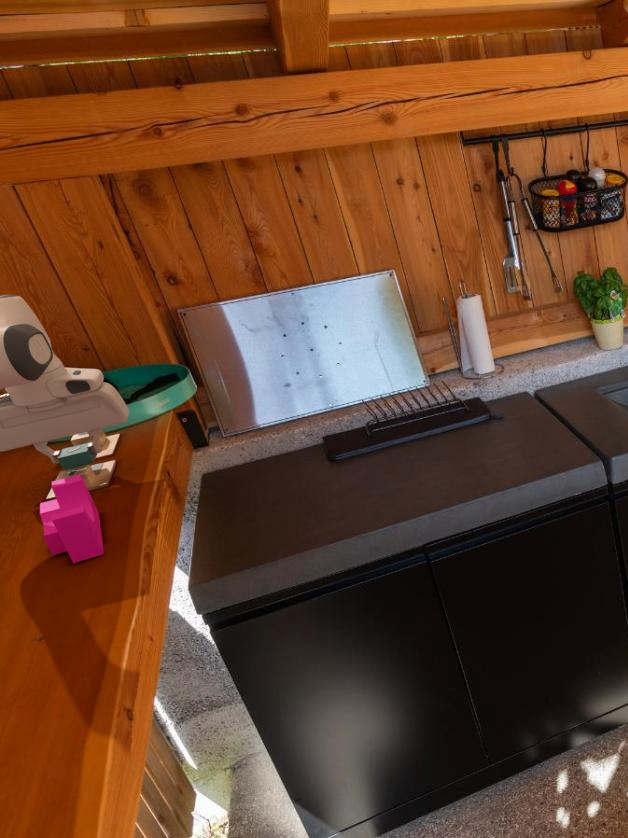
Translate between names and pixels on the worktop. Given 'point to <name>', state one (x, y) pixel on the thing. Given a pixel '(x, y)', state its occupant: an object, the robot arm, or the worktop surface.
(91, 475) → the beige base plate
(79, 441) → the beige flat stepped block
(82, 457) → the teal slotted box
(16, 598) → the worktop surface
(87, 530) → the toy block
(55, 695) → the worktop surface
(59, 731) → the worktop surface
